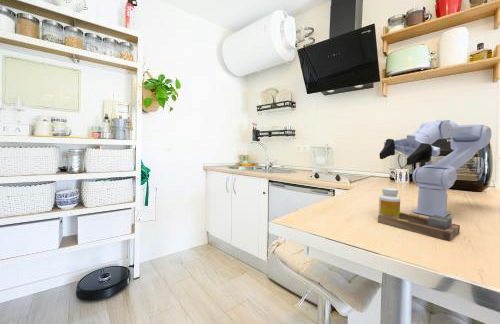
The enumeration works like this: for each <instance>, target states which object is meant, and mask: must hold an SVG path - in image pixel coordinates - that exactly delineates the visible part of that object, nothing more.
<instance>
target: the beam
mask: <svg viewBox="0 0 500 324" xmlns="http://www.w3.org/2000/svg"><path fill="white" fill-rule="evenodd" d="M378 215H379V214H378ZM452 221H453V218H452V217H449V216H445V217H444V216H439V215H433V216H429V217H428V218H427V217H423V216H420V215H417V214H413V213H405V212H400V216H399V219H396V218H392V217H387V216H383V215H379V216H377V223H379V224H383V225H387V226H390V227H393V228H394V227H395V228H397V229H403V230H406V231H409V232H410V231H411V232H413V233H417V234H422V235H425V236H428V237H432V238H437V239H440V240H444V241H448V242H450V241H452V240H453V239H454V238H455V237H456V236H458V234H460V229H461V225H460V224H455V223H453V222H452Z"/></svg>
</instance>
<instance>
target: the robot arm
mask: <svg viewBox="0 0 500 324" xmlns="http://www.w3.org/2000/svg"><path fill="white" fill-rule="evenodd" d="M447 139H450V149H451V150H452V151H451V152H450V153H449V154H447V155H446V156H444V157H443V158H442V159H440V160H438V161H437V162H436V163H433V164H426V165H423V166H417V167H416V168H415V169H414V171H413V173H412V181H413V183H414V184H415V186H416V187H418V194H417V208H416V209H414V210H412V213H415V214H420V215H426V216H429V217H431V216H433V215H439V216H444V217H448V215H450V214H451V212H450V211H447V209H448V208H447V207H448V193H447V190H449V189H450V188H452V187H453V186H454V185H455V182H456V181H457V179H458V174H457V170H459V169H460V168H461V167H463V165H465V164H466V163H467V162H469V161H470V160H471V159H473V157H474V156H475V155H476V154H477V153H478V151H480V150H483V149H484V148H485V147H487V145H489V144H490V142H491V139H492V129H491V127H489V125H484V124H483V125H482V124H459V125H458V124H457V122H454V121H451V120H450V119H444V120H441V119H440V120H435V121H428V122H424V123H423V122H422V123H421V124H420V126H419V128H418V129H417V130H416V131H415V132H413V133H412V134H407V135H406V137H403V138H399V139H394V138H387V139H386V140H385V141H384V142H383V148H382V149H381V151H380V152H379V159H380V160H384V159H386V158H388V157H390V156H391V157H392V156H395V155H396V151H398V152H399V153H402V154H404V155H405V156H407V158H406V165H407V166H412V165H415V164H418V163H429V162H430V161H431V158H432V157H435V158H436V157H438V156H439V155H441V147H438V146H434V145H433V144H434V143H435V142H437V140H447Z"/></svg>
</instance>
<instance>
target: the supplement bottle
mask: <svg viewBox="0 0 500 324" xmlns="http://www.w3.org/2000/svg"><path fill="white" fill-rule="evenodd" d="M381 190H382V191H381V193H382V194H381V195H379V200H378V214H377V215H378V216H379V215H383V216H387V217H392V218H396V219H399V216H400V213H401V198H400V197H399V195H398V194H399V189H397V188H392V187H383V188H382V189H381ZM378 216H377V217H378Z"/></svg>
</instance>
